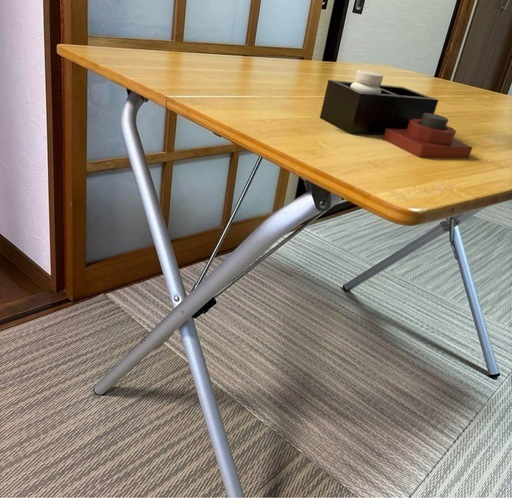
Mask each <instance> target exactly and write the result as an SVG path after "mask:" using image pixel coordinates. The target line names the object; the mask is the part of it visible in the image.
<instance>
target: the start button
mask: <svg viewBox="0 0 512 498" xmlns="http://www.w3.org/2000/svg"><path fill="white" fill-rule="evenodd" d="M448 122H449V119H448V117H445V116H443V115H439V114H435V113H434V114H431V113H424V114H423V116H422V119H421V123H420V124H421V125H423V126H426V127H429V128H433V129H438V130H445V128H446V126H448Z"/></svg>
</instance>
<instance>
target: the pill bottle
mask: <svg viewBox="0 0 512 498" xmlns="http://www.w3.org/2000/svg"><path fill="white" fill-rule="evenodd" d="M383 79H384V75H383V74H381V73H379V72H376V71H370V70H365V69H357V70H356V73H355V76H354V81H353V82H354V83H352V84H351V86H350V87H351V88H353V89H356V90H358V91H361V92H366V93H378V94H381V89H380V88H379V85H382V83H383Z"/></svg>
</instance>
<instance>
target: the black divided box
mask: <svg viewBox="0 0 512 498" xmlns="http://www.w3.org/2000/svg"><path fill="white" fill-rule="evenodd" d="M354 82H355V81H345V80H333V79H328V80H327V84H326V89H325V93H324V97H323V102H322V106H321V110H320V114H319V119H321V120H322V121H324V122H326V123H328V124H330V125H331V126H334V127H336V128H338V129H339V130H341V131H343V132H344V133H347V134H348V135H353V136H354V135H357V136H382V137H383V136H384V133H385V130H386V128H390V129H407V128H408V125H409V122H410V120H412V119H422V116H423V114H424V113H431V114H435V113H436V109H437V106H438V103H439V99H437V98H435V97H431V96H429V95H426V94H424V93H421V92H418V91H415V90H412V89H410V88H407V87H404V86H398V85H397V86H396V85H386V84H381V85H379V88H380V89H381V94H378V93H366V92H361V91H358V90H356V89H353V88H351V87H350V86H351V84H352V83H354Z"/></svg>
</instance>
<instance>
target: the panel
mask: <svg viewBox="0 0 512 498" xmlns="http://www.w3.org/2000/svg"><path fill="white" fill-rule="evenodd" d="M420 123H421V119H412V120H410V122H409V125H408V128H407V129H390V128H386V130H385V133H384V136H383V135H382V140H383V141H385V142H387V143H390V144H391V145H393V146H395V147H397V148H399V149H400V150H403V151H405V152H407V153H409V154H411V155H413V156H415V157H417V158H419V159H469V158H470V156H471V152H472V150H473V146H471V145H469V144H466V143H465V142H462V141H459V140H457V139H455V136H456V133H457V131H456V130H455V129H454V128H453V127H451V126H449V125H446V128H445V130H438V129H433V128H429V127H426V126H423V125H421V124H420Z"/></svg>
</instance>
